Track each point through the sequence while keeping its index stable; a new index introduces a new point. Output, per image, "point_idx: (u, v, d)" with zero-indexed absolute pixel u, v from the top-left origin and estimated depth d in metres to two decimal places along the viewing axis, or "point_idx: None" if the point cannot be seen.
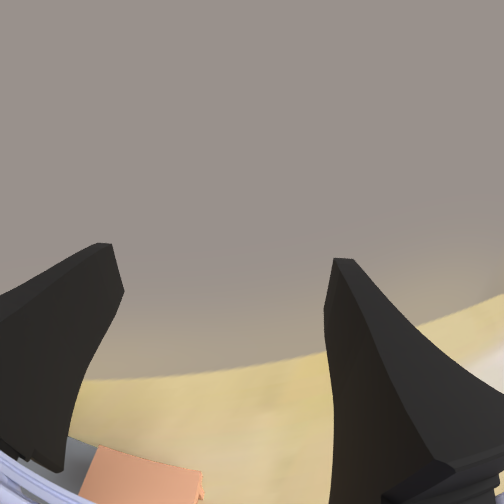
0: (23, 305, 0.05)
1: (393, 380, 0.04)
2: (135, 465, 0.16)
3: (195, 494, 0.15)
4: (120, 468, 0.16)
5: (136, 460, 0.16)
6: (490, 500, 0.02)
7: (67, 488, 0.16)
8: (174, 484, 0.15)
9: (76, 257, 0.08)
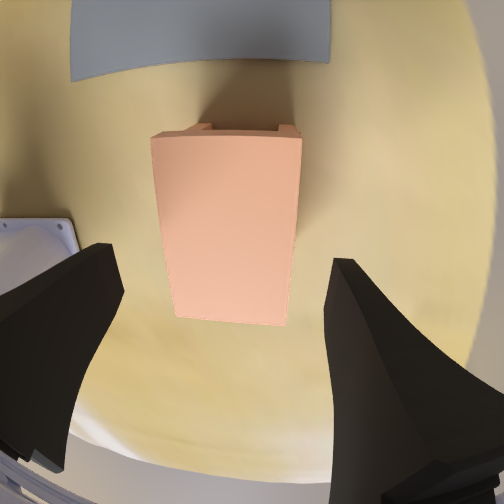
0: (23, 305, 0.05)
1: (393, 380, 0.04)
2: (273, 231, 0.11)
3: None
4: (255, 204, 0.10)
5: (286, 230, 0.11)
6: (490, 500, 0.02)
7: (210, 34, 0.12)
8: (252, 297, 0.12)
9: (76, 257, 0.08)
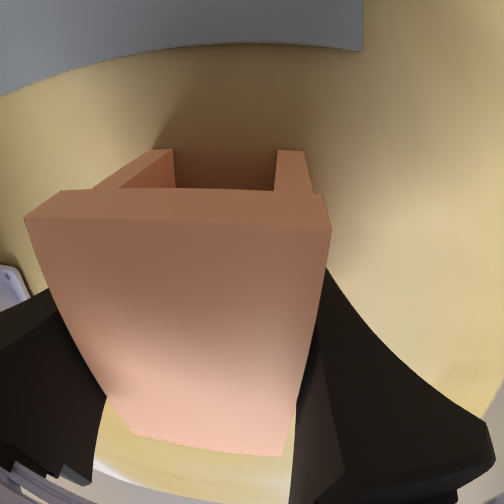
0: (52, 312, 0.05)
1: (328, 382, 0.04)
2: (262, 381, 0.06)
3: None
4: (227, 346, 0.05)
5: (285, 380, 0.06)
6: (490, 500, 0.02)
7: (165, 8, 0.06)
8: (231, 436, 0.07)
9: None
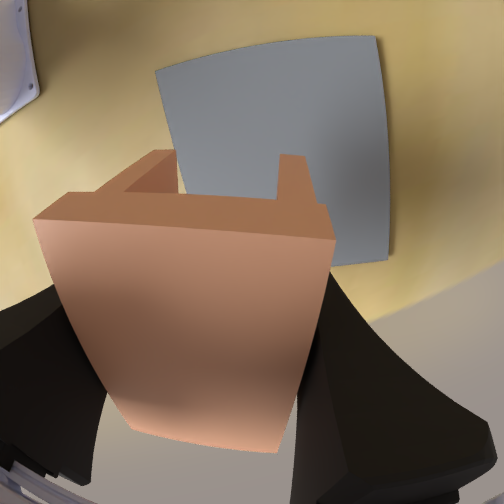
0: (51, 312, 0.05)
1: (330, 382, 0.04)
2: (262, 380, 0.06)
3: None
4: (231, 347, 0.05)
5: (285, 379, 0.06)
6: (490, 500, 0.02)
7: None
8: (230, 432, 0.08)
9: None
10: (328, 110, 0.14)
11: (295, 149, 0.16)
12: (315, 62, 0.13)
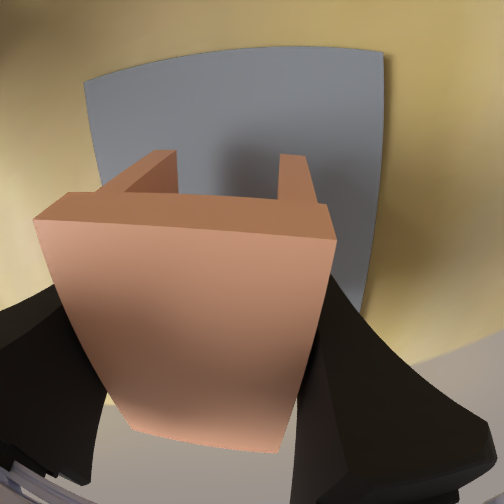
0: (51, 312, 0.05)
1: (330, 382, 0.04)
2: (263, 380, 0.06)
3: None
4: (232, 347, 0.05)
5: (286, 379, 0.06)
6: (490, 500, 0.02)
7: None
8: (230, 433, 0.08)
9: None
10: (300, 152, 0.11)
11: None
12: (291, 82, 0.10)
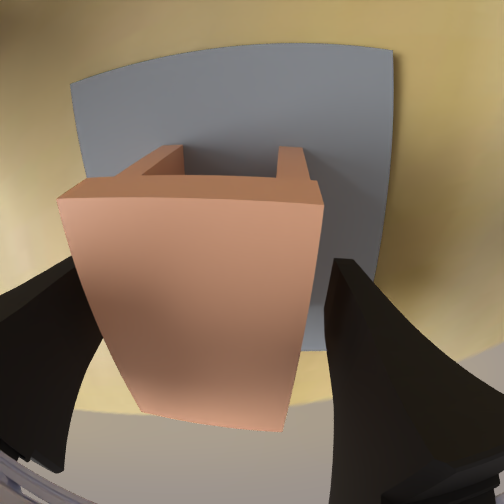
0: (23, 305, 0.05)
1: (393, 380, 0.04)
2: (266, 347, 0.06)
3: None
4: (236, 311, 0.06)
5: (286, 345, 0.06)
6: (490, 500, 0.02)
7: None
8: (236, 409, 0.08)
9: None
10: None
11: None
12: (292, 82, 0.09)
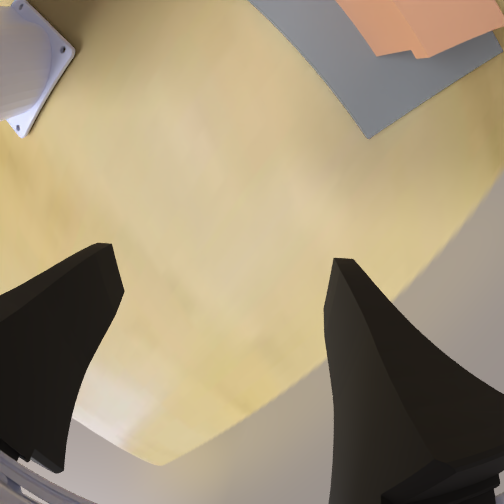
0: (23, 305, 0.05)
1: (393, 380, 0.04)
2: None
3: (480, 33, 0.06)
4: None
5: None
6: (490, 500, 0.02)
7: (324, 42, 0.12)
8: None
9: (76, 257, 0.08)
10: None
11: None
12: None
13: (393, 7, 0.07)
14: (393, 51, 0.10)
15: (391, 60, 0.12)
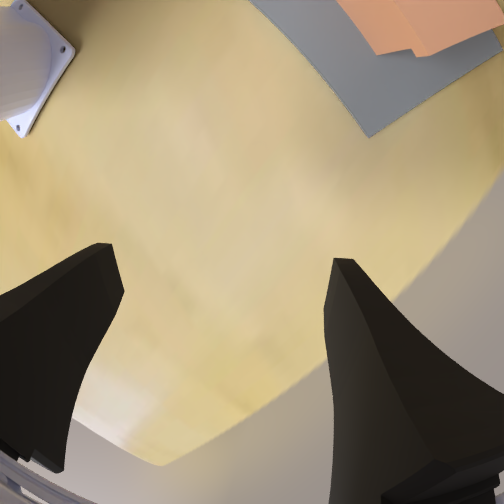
0: (23, 305, 0.05)
1: (393, 380, 0.04)
2: None
3: (480, 31, 0.06)
4: None
5: None
6: (490, 500, 0.02)
7: (324, 41, 0.12)
8: None
9: (76, 257, 0.08)
10: None
11: None
12: None
13: (393, 6, 0.07)
14: (393, 49, 0.10)
15: (391, 59, 0.12)
